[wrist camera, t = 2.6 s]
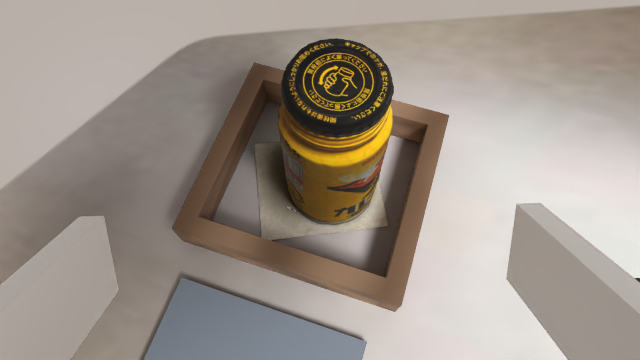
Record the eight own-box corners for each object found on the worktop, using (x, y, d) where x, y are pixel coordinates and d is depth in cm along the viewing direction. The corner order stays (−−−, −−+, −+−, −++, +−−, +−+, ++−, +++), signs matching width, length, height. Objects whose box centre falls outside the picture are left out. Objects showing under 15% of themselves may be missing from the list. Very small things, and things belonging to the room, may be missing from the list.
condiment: (388, 226, 30) (426, 134, 19) (262, 242, 30) (228, 156, 19) (369, 133, 33) (393, 9, 22) (254, 146, 33) (222, 25, 22)
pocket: (440, 134, 33) (449, 115, 31) (395, 311, 28) (401, 304, 26) (258, 83, 35) (254, 62, 33) (183, 240, 30) (171, 228, 27)
